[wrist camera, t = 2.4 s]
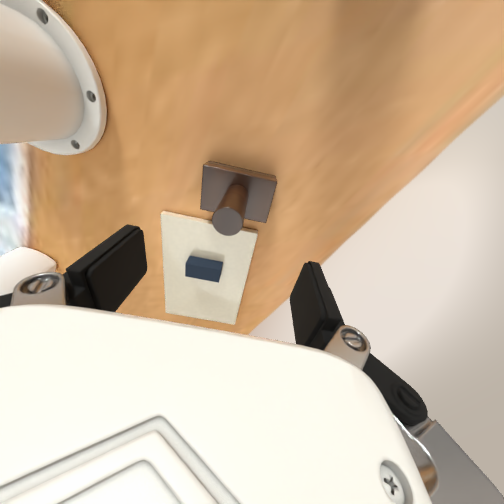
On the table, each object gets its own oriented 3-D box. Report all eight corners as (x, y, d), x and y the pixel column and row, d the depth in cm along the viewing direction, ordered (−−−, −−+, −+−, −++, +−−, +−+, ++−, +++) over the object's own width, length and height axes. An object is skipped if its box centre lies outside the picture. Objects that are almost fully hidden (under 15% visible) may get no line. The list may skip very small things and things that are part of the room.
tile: (167, 308, 37) (165, 312, 37) (163, 210, 26) (160, 213, 26) (235, 320, 38) (234, 324, 37) (258, 230, 27) (257, 233, 27)
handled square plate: (205, 201, 26) (178, 238, 17) (208, 160, 23) (178, 181, 15) (265, 214, 26) (267, 255, 18) (276, 175, 23) (282, 204, 15)
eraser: (189, 268, 30) (184, 276, 29) (189, 255, 29) (185, 263, 27) (221, 274, 31) (218, 283, 29) (223, 261, 29) (220, 270, 28)
